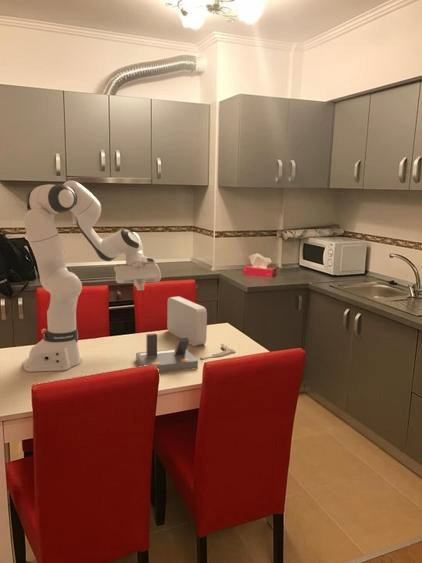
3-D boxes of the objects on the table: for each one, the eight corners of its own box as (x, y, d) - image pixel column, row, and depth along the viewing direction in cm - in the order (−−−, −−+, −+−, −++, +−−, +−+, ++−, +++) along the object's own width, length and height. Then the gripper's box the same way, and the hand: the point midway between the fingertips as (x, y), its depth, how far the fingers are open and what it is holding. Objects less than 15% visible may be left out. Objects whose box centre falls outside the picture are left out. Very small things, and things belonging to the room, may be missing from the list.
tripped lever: (146, 358, 188) (146, 335, 186) (145, 356, 190) (145, 334, 188) (157, 357, 190) (157, 334, 188) (156, 355, 191) (156, 333, 189)
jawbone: (239, 352, 211) (239, 348, 210) (217, 367, 193) (217, 362, 193) (221, 346, 215) (222, 342, 214) (199, 361, 197) (199, 356, 197)
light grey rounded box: (210, 344, 216) (211, 307, 213) (196, 347, 212) (197, 309, 209) (180, 328, 240) (180, 294, 236) (167, 330, 235) (167, 296, 232)
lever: (174, 355, 193) (178, 342, 186) (173, 352, 194) (177, 338, 187) (185, 354, 194) (189, 341, 188) (184, 351, 196) (188, 337, 189)
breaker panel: (144, 374, 180) (144, 366, 180) (136, 359, 195) (136, 352, 194) (197, 368, 188) (197, 360, 187) (185, 354, 203) (186, 347, 202)
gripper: (113, 260, 204) (117, 286, 197) (159, 259, 211) (164, 284, 204) (112, 268, 209) (116, 294, 202) (156, 267, 216) (161, 292, 209)
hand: (140, 289), depth 203 cm, fingers closed
